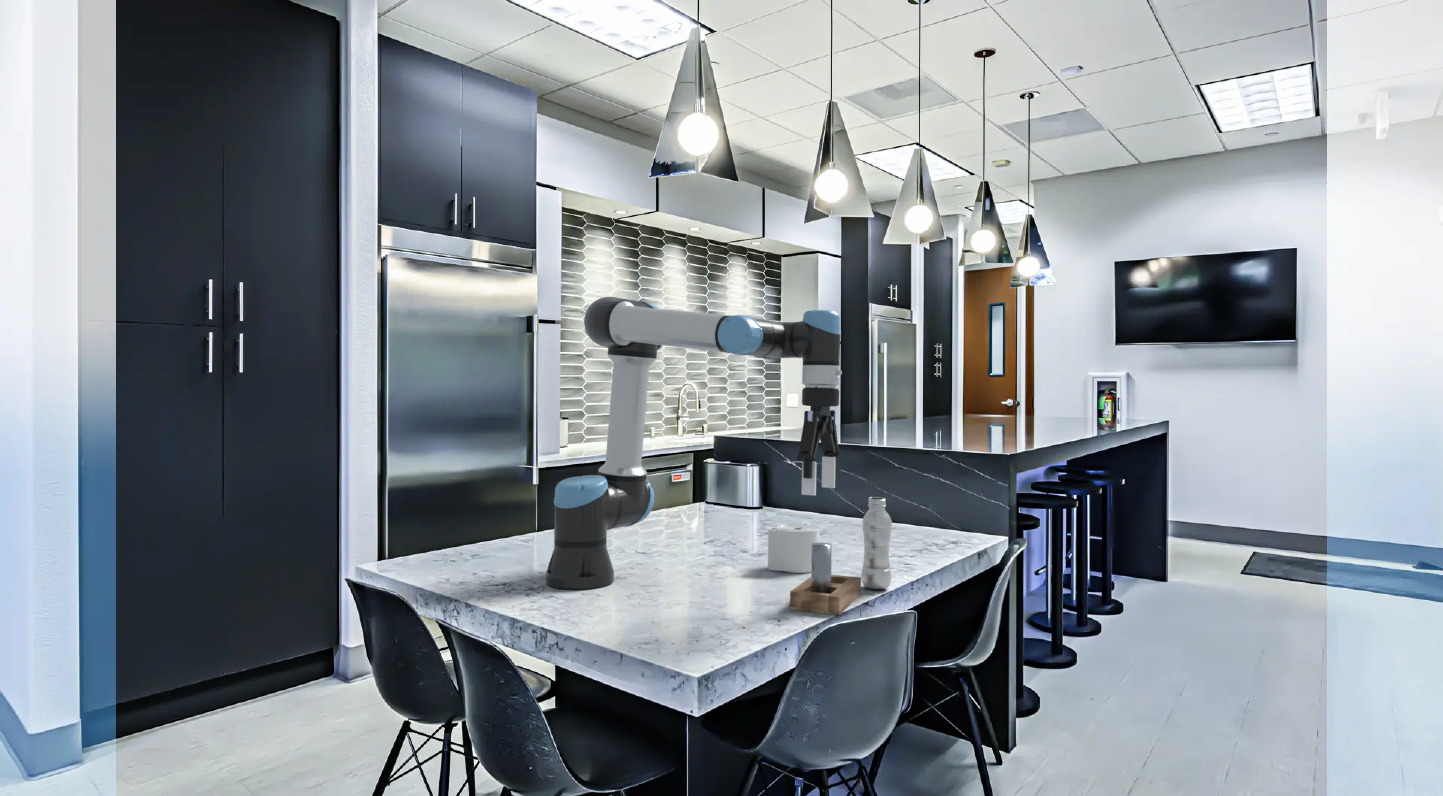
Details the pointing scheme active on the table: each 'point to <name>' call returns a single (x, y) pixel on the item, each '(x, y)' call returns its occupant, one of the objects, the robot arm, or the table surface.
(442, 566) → the table surface
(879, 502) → the plastic bottle
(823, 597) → the block
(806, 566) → the toilet tissue
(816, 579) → the pin
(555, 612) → the table surface
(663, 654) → the table surface
